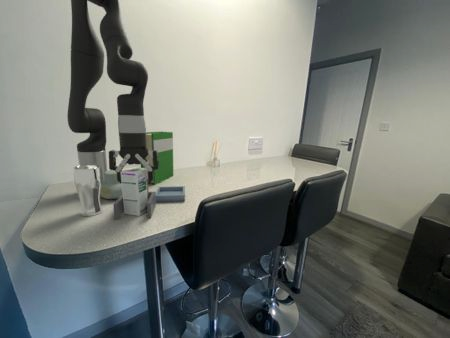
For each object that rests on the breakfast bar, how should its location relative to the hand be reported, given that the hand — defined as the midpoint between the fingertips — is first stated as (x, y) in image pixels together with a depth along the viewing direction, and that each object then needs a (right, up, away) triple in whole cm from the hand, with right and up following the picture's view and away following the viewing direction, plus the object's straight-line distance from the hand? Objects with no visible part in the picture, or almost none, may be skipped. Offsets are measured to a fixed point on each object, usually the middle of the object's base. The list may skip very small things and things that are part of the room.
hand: (136, 182), depth 64 cm
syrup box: (-1, -10, +2) cm, 10 cm away
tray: (+7, -7, +17) cm, 19 cm away
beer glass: (-15, -10, +1) cm, 18 cm away
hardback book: (-6, -1, +40) cm, 40 cm away
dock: (-1, -10, +2) cm, 10 cm away
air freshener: (-15, -7, +14) cm, 21 cm away
